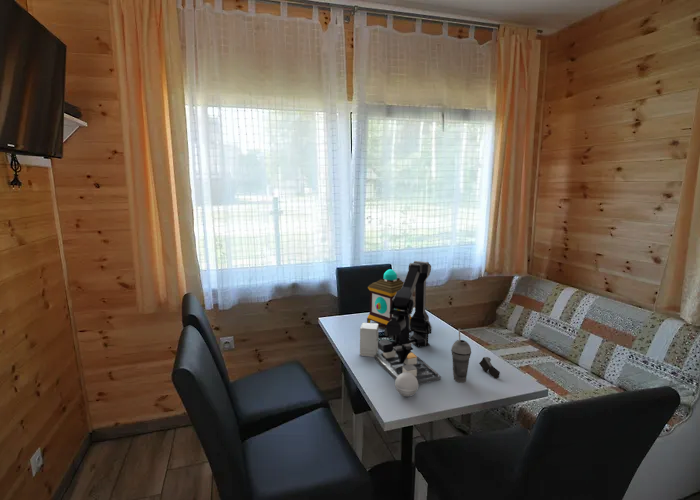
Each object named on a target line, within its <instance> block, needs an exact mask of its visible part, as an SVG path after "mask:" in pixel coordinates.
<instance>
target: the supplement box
mask: <svg viewBox="0 0 700 500" xmlns="http://www.w3.org/2000/svg"><path fill="white" fill-rule="evenodd" d="M378 342H379V323H377V322H373V323H372V322H370V323H367V322H362V323H361V325H360V327H359V356H361V357H362V356H363V357H371V358H373V357H374V355H376V353H378V351H379V348H378Z"/></svg>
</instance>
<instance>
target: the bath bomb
mask: <svg viewBox="0 0 700 500" xmlns="http://www.w3.org/2000/svg"><path fill="white" fill-rule="evenodd" d="M394 384H395V385H394V387H395V389H396V391H397V393H398V394H399V395H401V396H403V397H405V398H406V397H407V398H408V397H409V398H410V397H411V396H414V395H415V394H416V393H417V391H418V389H419V384H418V381H417V379H416V377H415V376H414V375H413V374H411V373H408V372H404V373H401V374H400V375H398V377H397V378H396V380H395V382H394Z"/></svg>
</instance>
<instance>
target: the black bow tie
mask: <svg viewBox="0 0 700 500" xmlns="http://www.w3.org/2000/svg"><path fill="white" fill-rule="evenodd" d="M491 361H492V359H491V357H489V356H483V358H482V359H481V361H480V362H479V363H478V364H479V366H480V367H481V368H482V370H483V372H484V373H485V372H488V374H489V375H490V376H491V377H493V378H494V379H499V377H500V371H499V370H498V369H497V368H495V367H494V365H493V364H492V362H491Z"/></svg>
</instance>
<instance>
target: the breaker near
mask: <svg viewBox="0 0 700 500" xmlns="http://www.w3.org/2000/svg"><path fill="white" fill-rule="evenodd" d="M404 372H408V373H411V374H413V375H414V376H417V368H416V367H415V366H414V365H412V364H410V365H404V366H403V372H402V373H404Z"/></svg>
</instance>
